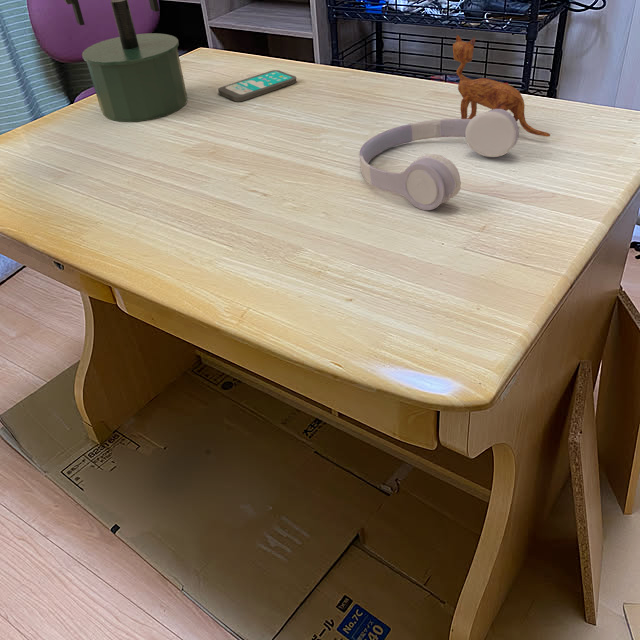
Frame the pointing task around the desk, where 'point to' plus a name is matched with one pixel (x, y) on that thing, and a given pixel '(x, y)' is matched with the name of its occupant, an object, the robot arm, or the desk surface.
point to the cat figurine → (487, 90)
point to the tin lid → (129, 42)
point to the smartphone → (257, 85)
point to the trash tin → (140, 88)
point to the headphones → (434, 170)
